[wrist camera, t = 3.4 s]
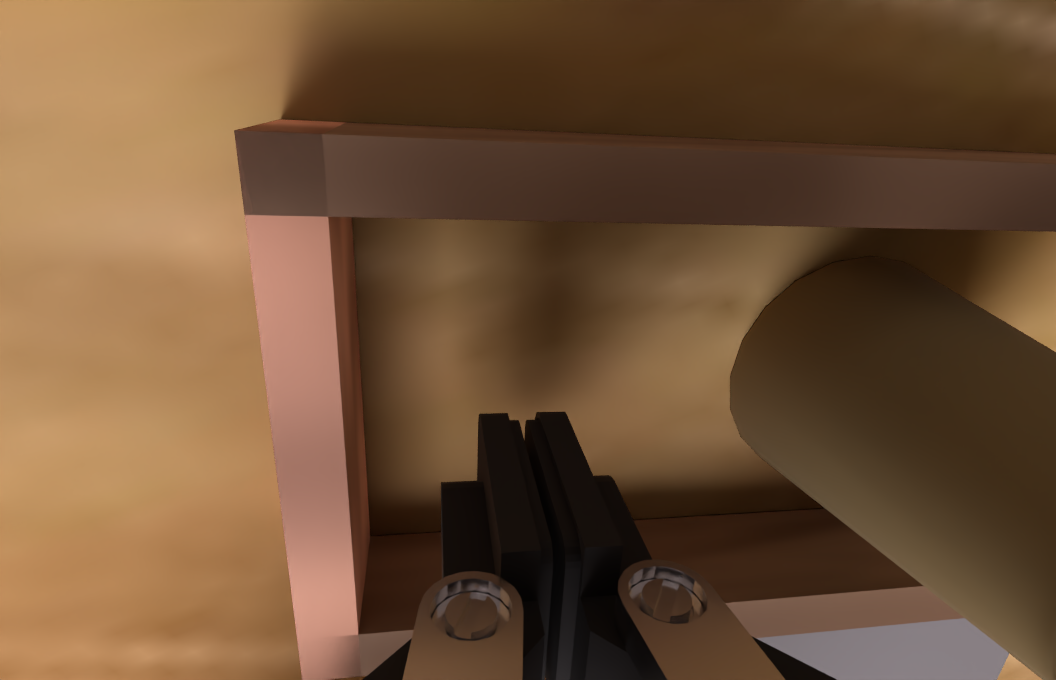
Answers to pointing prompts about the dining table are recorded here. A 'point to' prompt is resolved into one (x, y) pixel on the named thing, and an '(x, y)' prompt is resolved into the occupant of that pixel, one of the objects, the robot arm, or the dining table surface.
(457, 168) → the brown u-shaped frame
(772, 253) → the dining table surface
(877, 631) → the coaster
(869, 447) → the tan hourglass shape
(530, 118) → the dining table surface
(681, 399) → the dining table surface
